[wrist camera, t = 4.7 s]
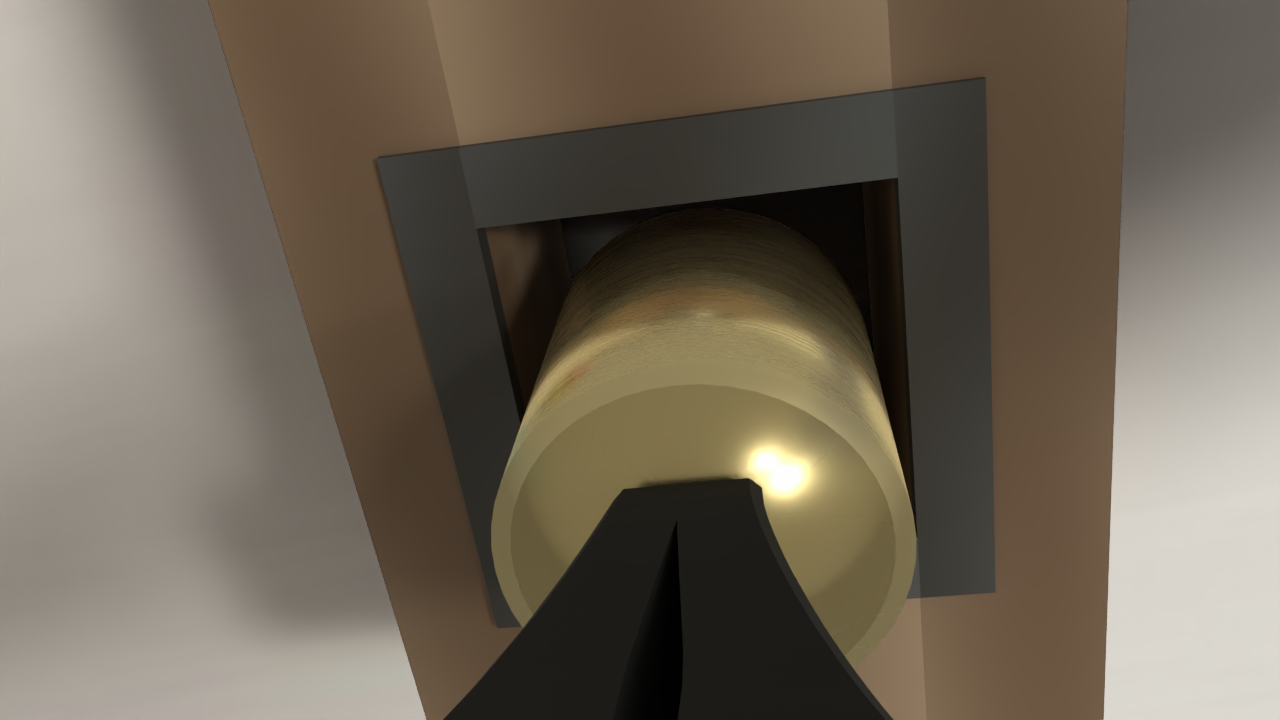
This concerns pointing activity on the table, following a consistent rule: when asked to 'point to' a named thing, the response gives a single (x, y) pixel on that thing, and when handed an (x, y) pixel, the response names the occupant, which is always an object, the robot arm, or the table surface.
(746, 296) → the brass peg
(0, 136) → the table surface
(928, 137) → the wooden block
